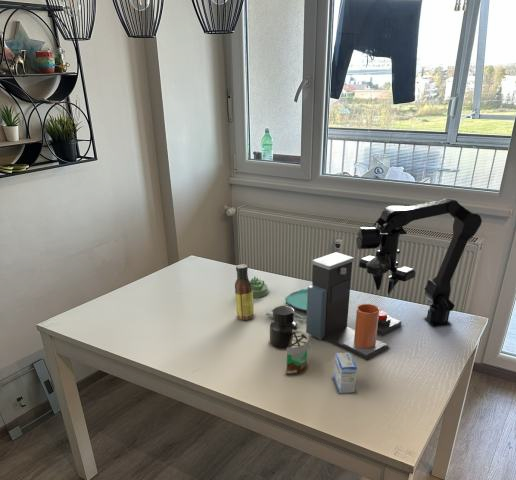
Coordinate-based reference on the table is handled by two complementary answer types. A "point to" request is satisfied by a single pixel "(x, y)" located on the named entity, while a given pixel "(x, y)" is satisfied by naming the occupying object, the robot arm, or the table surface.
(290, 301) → the cutlery set
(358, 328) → the cup
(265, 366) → the table surface
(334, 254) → the coffee maker
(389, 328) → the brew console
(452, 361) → the table surface
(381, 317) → the button
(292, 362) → the food container
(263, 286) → the decorative artifact
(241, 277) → the sauce bottle
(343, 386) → the medicine box
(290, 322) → the ink bottle
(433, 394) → the table surface
